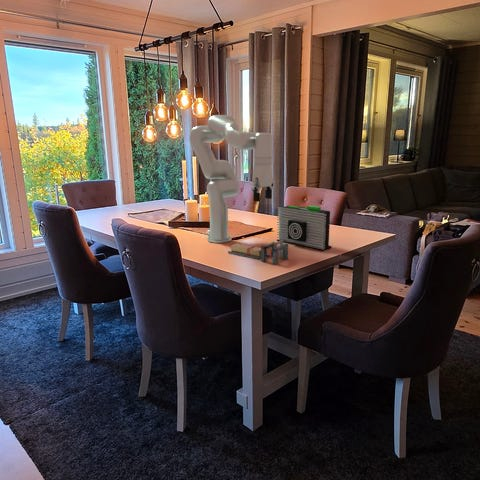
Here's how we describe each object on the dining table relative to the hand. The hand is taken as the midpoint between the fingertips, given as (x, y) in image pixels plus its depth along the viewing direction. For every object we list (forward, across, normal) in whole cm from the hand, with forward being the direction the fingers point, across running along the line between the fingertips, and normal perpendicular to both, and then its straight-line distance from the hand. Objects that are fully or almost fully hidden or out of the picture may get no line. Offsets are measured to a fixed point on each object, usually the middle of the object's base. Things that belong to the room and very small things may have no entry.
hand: (262, 199), depth 183 cm
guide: (+25, +7, -3) cm, 26 cm away
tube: (+25, +7, -3) cm, 26 cm away
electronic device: (+25, -22, +10) cm, 34 cm away
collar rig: (+24, +8, +12) cm, 28 cm away
